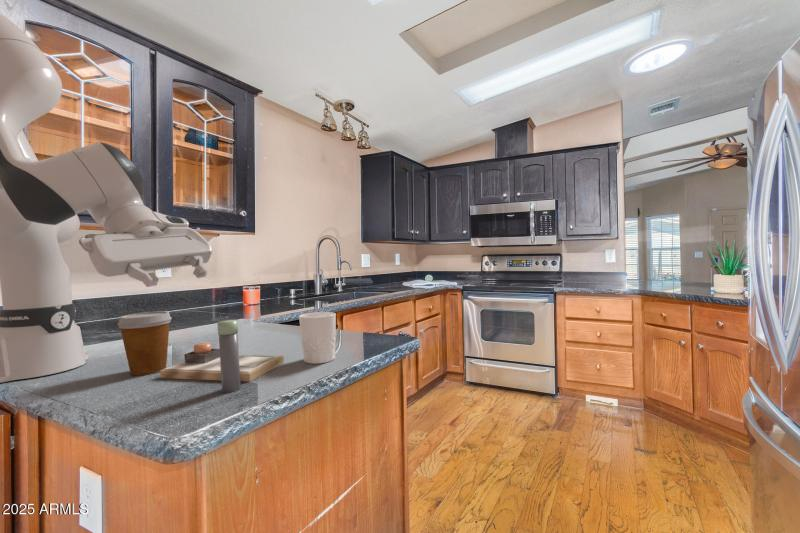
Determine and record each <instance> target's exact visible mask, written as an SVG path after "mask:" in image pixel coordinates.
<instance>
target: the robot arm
mask: <svg viewBox="0 0 800 533" xmlns="http://www.w3.org/2000/svg"><path fill="white" fill-rule="evenodd" d="M62 93H63V82H62V78H60V76H59V73H58V71H57V70H56V68H55V67H54V66H53V64H52V62H51V61H50V60H49V58H48V57H47V56H46V54H45V53H44V52H43V51H42V49H40V48H39V46H38V45H37V44H36V43H35V42H34V41H33V39H31V38H30V36H28V34H26V33H25V32H24V31H23V30H22V29H21V28H20V27H18V26H17V25H16V24H15V23H14V22H13V21H11V20H10V19H9V18H8V17H6V16H5V15H3V14H2V13H0V292H1V293H0V294H1V303H2V304H1V305H2V309H0V384H1V383H6V382H11V381H17V380H24V379H32V378H38V377H39V378H40V377H44V376H48V375H53V374H58V373H62V372H65V371H69V370H72V369H75V368H78V367H81V366H83V365H84V364H86V363H87V360H88V359H90V354H89V353H85V352H86V351H85V348H84V342H83V338H82V337H83V336H82V332H81V327H80V326H79V325H78V324H76V322H75V319H76V318H77V314H76V313H77V309H76V305H75V303H73V296H72V295H73V294H72V281H71V280H72V279H71V270H70V268H69V266H68V265H67V263H66V261H65V259H64V257H63V255H62V251H61V248H60V245H59V244H61V243H64V242H66V241H68V240H71V239H72V238H73V237H75V236H76V235H77V233H78V232H79V230H80V227H81V223H80V218H79V216H78V214H80V213H83V212H85V211H87V212H88V214H89V215H90V216H91V217H92V219H93V220H94V221H95V222H96V224H98V225H99V226H102V227H103V230H104V232H105V233H104V232H103V233H99V234H98V233H97V234H95V233H88V234H85V236H83V237H80V238H79V240H78V242H79V245H80V247H81V248H82V250H84V251H85V252H87V253H88V256H89V259H90V261H91V263H92V265H93V267H94V268H95V270H96V271H97V273H98V274H100V275H101V276H104V277H115V276H123V275H128V277H129V278H132V279H134V280H136V281H139V282H142V284H144V286H145V287H147V288H149V287H155V286H157V285H158V282H159V277H158V276H157V275H156V274H155V272H151V271H159V270H166V269H172V268H180V267H188V266H191V267H192V268H194V269H193V272H192V274H193V275H194V276H196V277H195V278H197V279H200V278H206V276H207V274H208V270H207V269H206V267H205V266H204V264H207V263H208V262H209V260H210V259H211V256H212V253H213V246H212V245H211V244H210V243H209V241H207V239H206V238H205V237H204V236H202V235H201V234H200V233H199V232H198V231H197V230H195V229H194V228H191V227H189V225H190V223H189V221H188V220H187V219H185V218H184V217H177V216H173V215H172V216H171V215H168V214H163V213H161V212H158V211H153V210H152V209H151V208H149V207H148V206H146V205H145V204H144V202H143V200H142V198H143V197H142V196H143V194H144V186H145V185H144V180H143V177H142V175H141V173H140V170H139V169H138V167H136V165H135V164H134V162H133V161H131V159H130V158H129V157H128V156H127V155H126V154H125V153H124V152H123V151H122V149H119V148H117V147H115V146H113V145H111V144H109V143H106V142H101V141H100V142H96V143H93V144H88V145H85V146H82V147H79V148H75V149H72V150H70V151H67V152H63V153H60V154H58V155H54V156H51V157H47V158H44V159H41V160H39V159H38V157H37V156H36V153H35V152H34V150H33V148H32V146H31V144H30V142H29V140H28V138H27V136H26V134H25V132H24V130H23V129H25V127H27V126H28V125H30V124H31V123H33V122H34V121H36V120H37V119H39V118H41V117H43V116H45V115H47V114H48V113H51V111H52V110H53V109H54V108H55V107H56V106H57V105H58V103H59V102H60V100H61V98H62Z"/></svg>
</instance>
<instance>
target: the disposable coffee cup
mask: <svg viewBox="0 0 800 533" xmlns="http://www.w3.org/2000/svg"><path fill="white" fill-rule="evenodd" d="M172 319H173V318H172V316H171V314H170V311H163V310H162V311H159V310H158V311H145V312H137V313H130V314H125V315H122V316H119V319H118V322H117V326H118V328H119V329H120V332H121V337H122V343H123V346H124V351H125V355H126V359H127V365H128V367H129V373H130V375H131V376H147V375H152V374H157V373H160V370H163V369H165V368H167V361H168V347H169V346H168V345H169V334H170V333H169V332H170V323H171V322H172V321H171V320H172Z"/></svg>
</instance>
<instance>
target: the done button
mask: <svg viewBox="0 0 800 533" xmlns="http://www.w3.org/2000/svg"><path fill="white" fill-rule="evenodd" d="M211 349H212V343H211V342H201V343H196V344H194V345H193V351H194V354H206V353H208V352H211Z"/></svg>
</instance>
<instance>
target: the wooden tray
mask: <svg viewBox="0 0 800 533" xmlns="http://www.w3.org/2000/svg"><path fill="white" fill-rule="evenodd" d="M284 358H285V356H284V355H278V354H277V355H275V354H274V355H270V354H267V355H266V354H239V367H240V382H252V381H254V380H256V379H258V378H259V377H262V376H263V375H265V374H267V373H268V372H270V371H272V370H273V369H275V368H277V367H279V366H281V365H282V364H284V363H285V359H284ZM266 372H267V373H266ZM159 376H160V379H173V380H174V379H176V380H199V381H200V380H203V381H221V365H220V348H211V352H208V353H206V354H194V350H193V351H190V352H188V353H187V352H186V353H184V361H182V362H179V363H176V364H173V365H170V366H168V367H166V368H165V369H163V370H160V372H159ZM257 377H258V378H257Z"/></svg>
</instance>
